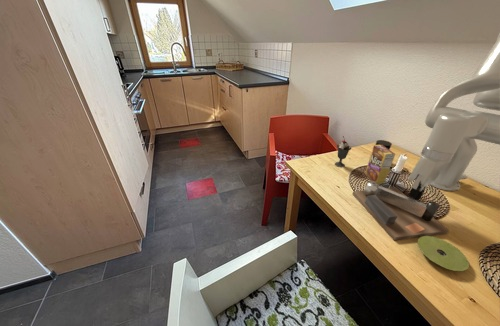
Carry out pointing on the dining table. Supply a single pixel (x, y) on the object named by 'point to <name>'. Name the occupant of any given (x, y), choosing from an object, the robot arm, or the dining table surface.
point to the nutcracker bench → (398, 218)
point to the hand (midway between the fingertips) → (414, 197)
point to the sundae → (342, 152)
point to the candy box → (379, 163)
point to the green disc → (443, 253)
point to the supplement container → (384, 143)
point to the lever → (402, 201)
